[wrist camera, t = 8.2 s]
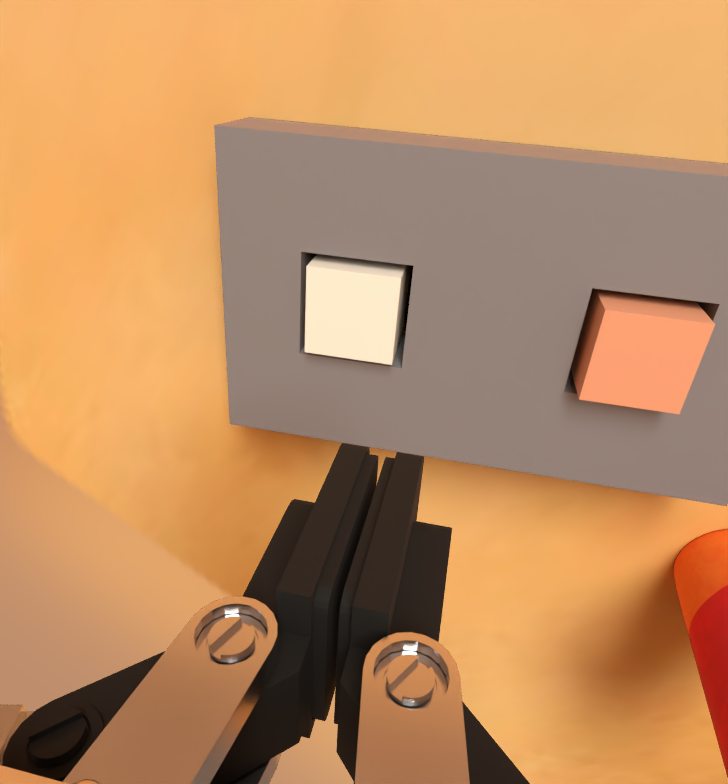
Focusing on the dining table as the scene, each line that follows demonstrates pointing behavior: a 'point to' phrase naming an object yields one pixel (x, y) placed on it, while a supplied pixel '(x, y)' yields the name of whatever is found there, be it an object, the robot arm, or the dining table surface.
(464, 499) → the dining table surface
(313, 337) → the cream cube block
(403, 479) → the robot arm
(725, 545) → the coffee cup
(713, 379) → the button panel
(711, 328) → the peach square button
